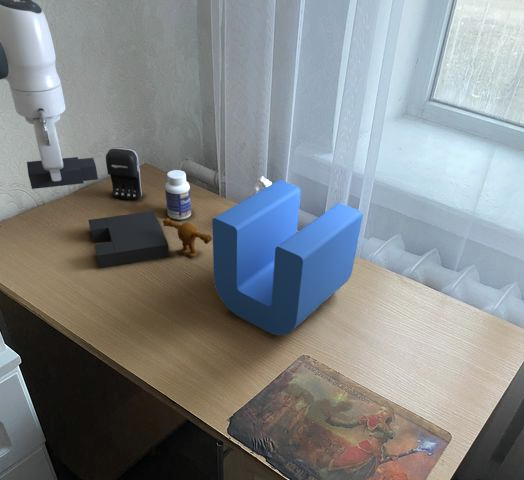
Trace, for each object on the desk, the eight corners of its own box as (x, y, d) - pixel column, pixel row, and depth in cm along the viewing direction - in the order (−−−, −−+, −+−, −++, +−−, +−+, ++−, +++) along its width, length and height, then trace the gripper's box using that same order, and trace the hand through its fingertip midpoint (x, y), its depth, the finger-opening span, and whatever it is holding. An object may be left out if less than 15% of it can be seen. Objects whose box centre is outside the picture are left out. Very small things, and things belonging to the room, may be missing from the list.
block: (214, 303, 99) (212, 216, 87) (272, 261, 110) (277, 178, 98) (293, 345, 92) (303, 257, 80) (347, 296, 103) (363, 211, 90)
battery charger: (110, 200, 126) (101, 152, 118) (115, 192, 128) (107, 145, 120) (139, 203, 125) (132, 155, 117) (143, 195, 128) (138, 148, 120)
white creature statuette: (230, 224, 120) (229, 173, 112) (262, 214, 123) (264, 165, 115) (252, 244, 114) (254, 192, 106) (285, 234, 118) (289, 183, 110)
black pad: (99, 268, 106) (97, 255, 104) (90, 232, 115) (88, 219, 113) (169, 256, 110) (168, 244, 108) (155, 222, 119) (154, 210, 117)
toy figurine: (160, 247, 112) (157, 218, 107) (172, 240, 114) (169, 211, 110) (205, 268, 107) (204, 238, 103) (216, 259, 110) (216, 230, 105)
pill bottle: (184, 222, 120) (181, 181, 113) (163, 217, 121) (159, 176, 114) (195, 211, 123) (193, 171, 117) (174, 206, 125) (171, 166, 118)
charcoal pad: (32, 189, 106) (28, 174, 104) (30, 175, 110) (26, 161, 108) (98, 181, 110) (96, 168, 108) (94, 169, 114) (92, 155, 112)
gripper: (62, 120, 93) (77, 193, 103) (52, 81, 107) (66, 149, 116) (23, 123, 91) (42, 197, 101) (18, 83, 105) (35, 152, 114)
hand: (55, 171), depth 109 cm, fingers closed on charcoal pad, 6 cm apart
